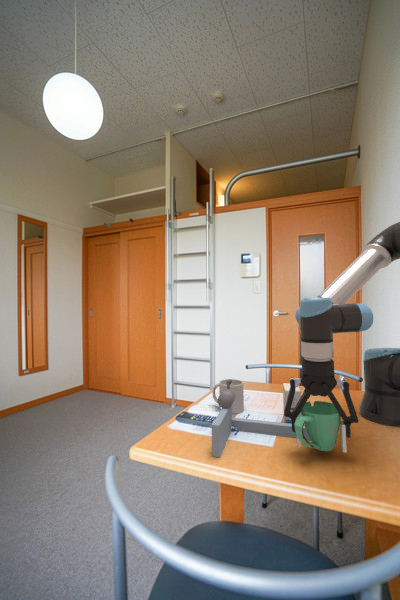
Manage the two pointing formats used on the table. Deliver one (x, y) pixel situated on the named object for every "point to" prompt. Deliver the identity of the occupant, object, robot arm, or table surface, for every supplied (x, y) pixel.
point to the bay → (242, 424)
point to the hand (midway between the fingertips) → (320, 446)
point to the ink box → (295, 400)
